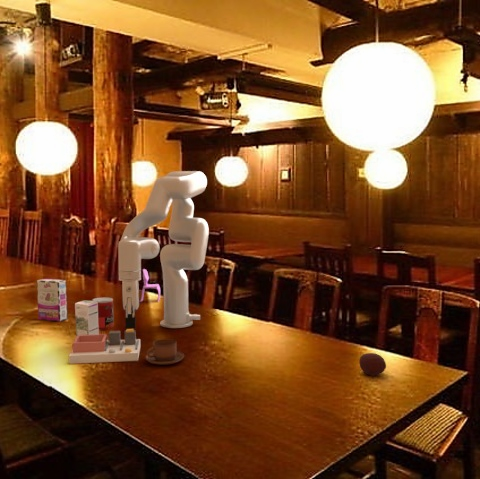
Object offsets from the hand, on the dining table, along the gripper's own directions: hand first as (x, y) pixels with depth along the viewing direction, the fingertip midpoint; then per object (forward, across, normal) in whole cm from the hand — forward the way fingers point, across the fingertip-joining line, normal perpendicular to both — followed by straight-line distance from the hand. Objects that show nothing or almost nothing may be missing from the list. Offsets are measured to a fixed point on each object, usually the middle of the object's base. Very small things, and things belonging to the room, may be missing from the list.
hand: (130, 328), depth 199 cm
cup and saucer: (+6, -20, -12) cm, 24 cm away
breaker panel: (+6, -10, +7) cm, 14 cm away
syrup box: (+6, +5, +15) cm, 17 cm away
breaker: (+3, -7, +5) cm, 9 cm away
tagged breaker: (+3, -7, 0) cm, 8 cm away
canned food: (+6, +26, +12) cm, 29 cm away
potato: (+6, -40, -72) cm, 83 cm away
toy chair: (+4, +73, -4) cm, 73 cm away
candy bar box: (+6, +42, +34) cm, 54 cm away
